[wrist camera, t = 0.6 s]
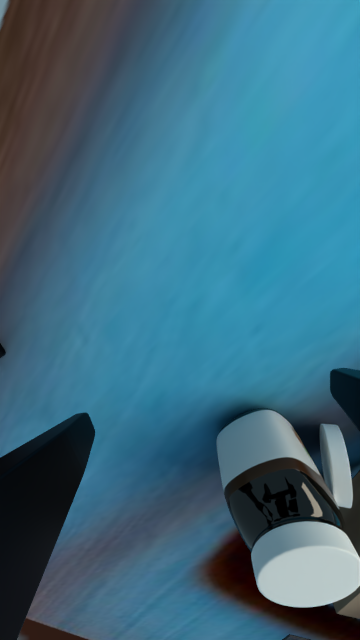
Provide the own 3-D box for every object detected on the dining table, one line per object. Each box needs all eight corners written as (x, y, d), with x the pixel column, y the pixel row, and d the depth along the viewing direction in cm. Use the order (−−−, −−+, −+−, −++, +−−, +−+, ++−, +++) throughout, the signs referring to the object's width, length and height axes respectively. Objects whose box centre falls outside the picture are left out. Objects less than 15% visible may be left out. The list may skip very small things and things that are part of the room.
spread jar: (202, 422, 26) (216, 561, 15) (297, 367, 23) (398, 486, 12) (259, 486, 29) (305, 640, 18) (347, 444, 26) (464, 592, 16)
